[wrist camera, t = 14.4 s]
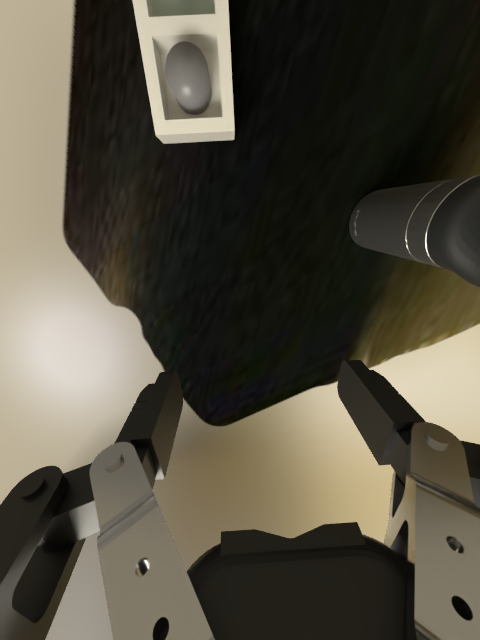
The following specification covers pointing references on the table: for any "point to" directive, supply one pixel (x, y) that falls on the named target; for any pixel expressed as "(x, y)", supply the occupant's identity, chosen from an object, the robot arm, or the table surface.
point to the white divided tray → (187, 68)
